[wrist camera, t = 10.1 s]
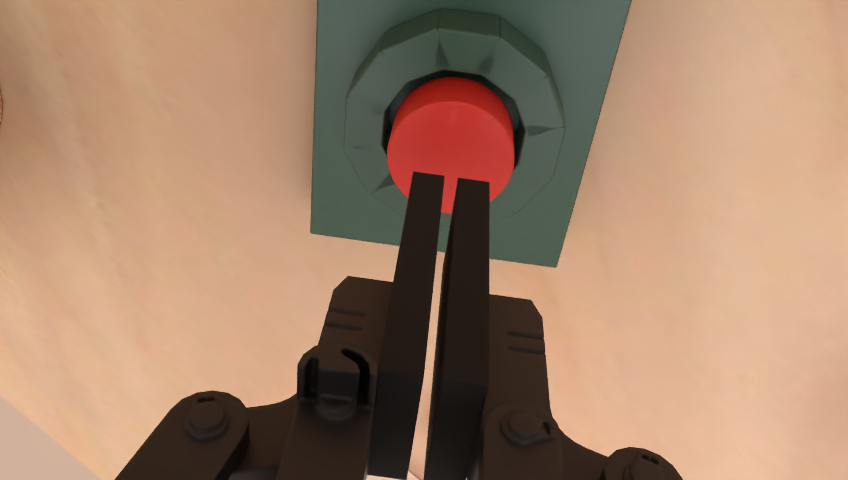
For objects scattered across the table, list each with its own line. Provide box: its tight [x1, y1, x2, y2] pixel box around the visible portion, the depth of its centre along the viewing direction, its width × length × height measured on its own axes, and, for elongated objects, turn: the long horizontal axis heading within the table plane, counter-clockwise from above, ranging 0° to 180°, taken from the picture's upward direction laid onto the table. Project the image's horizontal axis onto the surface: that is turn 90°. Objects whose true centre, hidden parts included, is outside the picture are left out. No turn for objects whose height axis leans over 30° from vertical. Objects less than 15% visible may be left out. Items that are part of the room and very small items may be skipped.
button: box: [387, 77, 514, 213], centre depth 21 cm, size 4×4×2 cm
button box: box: [310, 0, 632, 268], centre depth 23 cm, size 11×9×4 cm
